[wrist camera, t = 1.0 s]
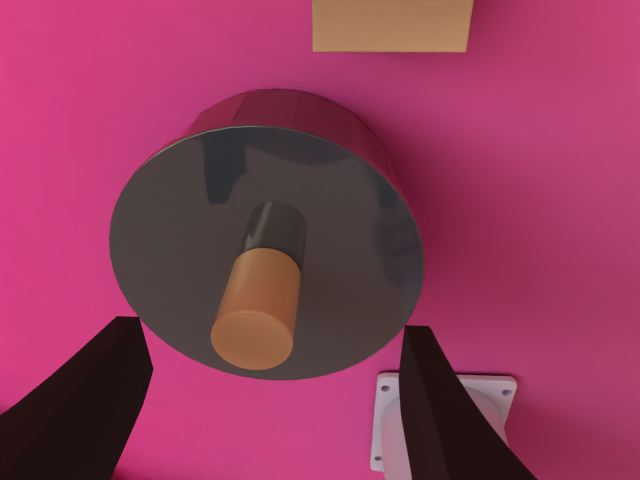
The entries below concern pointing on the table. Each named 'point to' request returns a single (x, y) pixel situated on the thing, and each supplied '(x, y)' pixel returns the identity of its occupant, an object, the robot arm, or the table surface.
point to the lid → (267, 250)
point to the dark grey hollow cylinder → (299, 119)
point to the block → (391, 25)
